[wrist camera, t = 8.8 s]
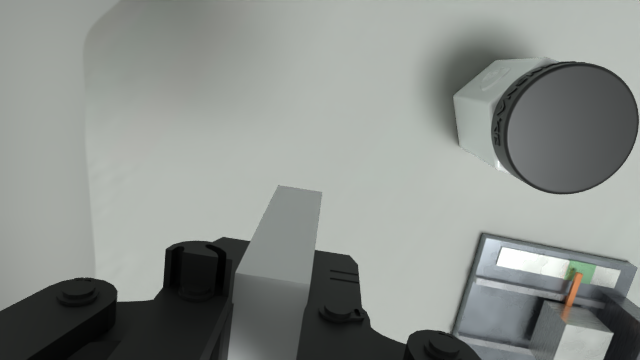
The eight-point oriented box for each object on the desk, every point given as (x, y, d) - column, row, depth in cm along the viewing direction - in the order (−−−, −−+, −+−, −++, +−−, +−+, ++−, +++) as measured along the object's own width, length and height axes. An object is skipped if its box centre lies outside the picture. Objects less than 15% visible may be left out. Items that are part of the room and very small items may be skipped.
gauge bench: (482, 233, 42) (512, 266, 35) (629, 262, 42) (688, 301, 35) (443, 362, 45) (463, 416, 38) (579, 389, 45) (624, 447, 38)
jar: (515, 39, 38) (597, 26, 26) (571, 113, 39) (673, 132, 27) (430, 110, 39) (471, 128, 28) (486, 179, 41) (548, 224, 29)
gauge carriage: (556, 267, 40) (579, 288, 36) (599, 275, 40) (627, 297, 37) (527, 347, 42) (547, 375, 38) (569, 355, 42) (593, 384, 38)
